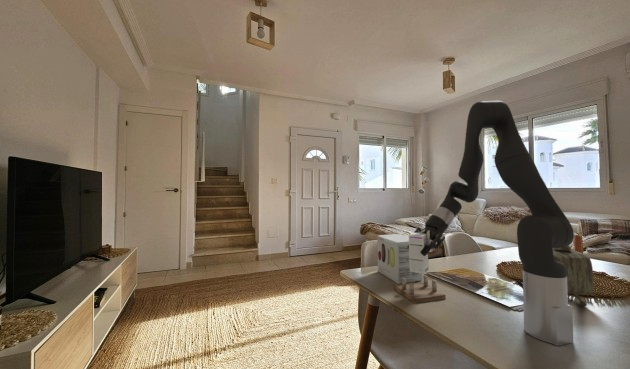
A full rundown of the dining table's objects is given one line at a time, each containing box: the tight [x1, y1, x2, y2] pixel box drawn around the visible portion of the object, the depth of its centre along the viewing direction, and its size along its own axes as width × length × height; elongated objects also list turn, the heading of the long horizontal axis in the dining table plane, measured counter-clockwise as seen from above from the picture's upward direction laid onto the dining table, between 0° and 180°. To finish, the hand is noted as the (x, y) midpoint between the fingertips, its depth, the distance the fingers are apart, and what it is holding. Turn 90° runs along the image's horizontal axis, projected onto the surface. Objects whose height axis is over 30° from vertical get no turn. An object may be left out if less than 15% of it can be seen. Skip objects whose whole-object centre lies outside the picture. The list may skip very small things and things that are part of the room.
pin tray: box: [394, 275, 447, 304], centre depth 98 cm, size 13×13×6 cm
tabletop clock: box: [553, 245, 594, 307], centre depth 93 cm, size 14×9×25 cm, turn 168°
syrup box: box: [408, 232, 429, 275], centre depth 99 cm, size 6×6×14 cm
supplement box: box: [376, 233, 424, 285], centre depth 119 cm, size 17×13×18 cm
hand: (415, 251), depth 98 cm, fingers closed on syrup box, 7 cm apart
